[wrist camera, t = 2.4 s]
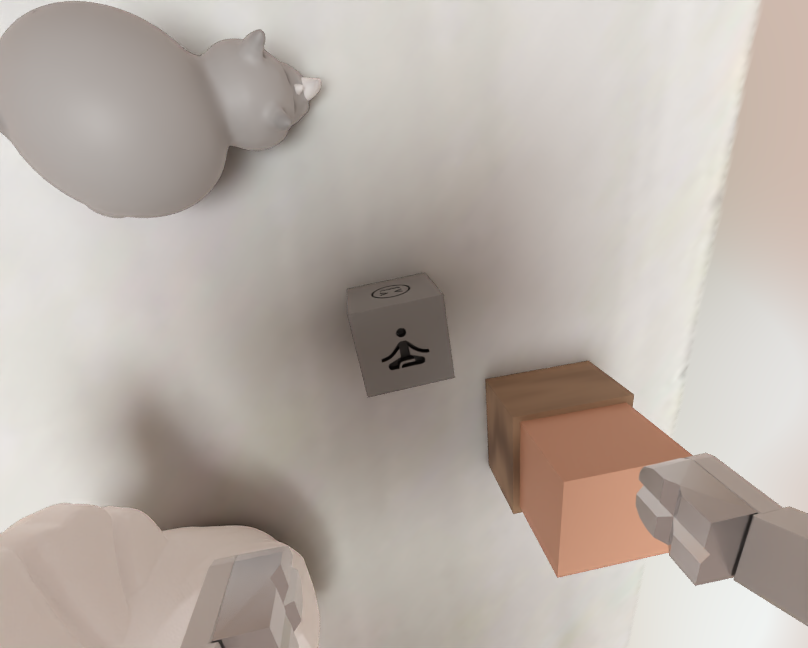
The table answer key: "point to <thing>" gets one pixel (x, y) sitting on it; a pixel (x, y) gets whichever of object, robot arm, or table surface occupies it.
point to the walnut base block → (539, 411)
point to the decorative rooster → (117, 578)
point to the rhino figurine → (137, 106)
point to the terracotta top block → (590, 485)
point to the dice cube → (400, 333)
